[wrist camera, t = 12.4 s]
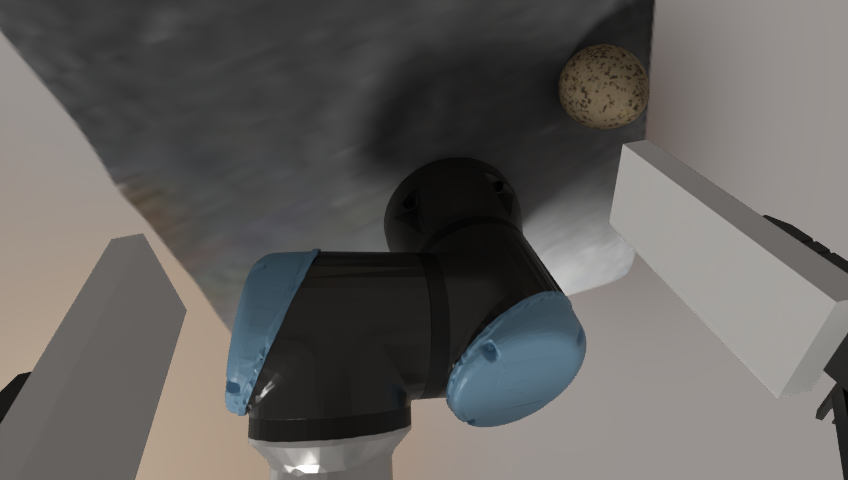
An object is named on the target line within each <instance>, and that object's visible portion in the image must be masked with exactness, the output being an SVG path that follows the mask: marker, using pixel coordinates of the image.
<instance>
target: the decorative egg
mask: <svg viewBox="0 0 848 480" xmlns="http://www.w3.org/2000/svg"><path fill="white" fill-rule="evenodd" d="M558 93H559V98H560V102H561V104H562V106H563V108H564V110H565V111H566V113H567V114H568V115H569V116H570V117H571V118H572V119H573V120H575V121H576V122H578V123H580V124H581V125H584V126H586V127H589V128H593V129H601V130H607V129H614V128H618V127H621V126H624V125H627V124H629V123H630V122H632V121H634V120H635V119H636V118H637V117H638V116H639V115H640V114H641V113H642V112H643V111H644V109H645V107H646V105H647V102H648V98H649V80H648V76H647V73H646V71H645V69H644V67H643V65H642V64H641V62H640V61H639V60H638V59H637V58H636V57H635V56H634V55H633V54H632V53H631V52H629V51H628V50H626V49H624V48H622V47H619V46H616V45H610V44H600V45H594V46H590V47H587V48H585V49H583V50H581V51H579V52H578V53H576V54H575V55H574V56H573V57H572V58H571V59H570V60H569V61H568V62H567V63H566V65H565V67H564V68H563V70H562V72H561V75H560V79H559V85H558Z"/></svg>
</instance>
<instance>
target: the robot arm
mask: <svg viewBox="0 0 848 480" xmlns="http://www.w3.org/2000/svg"><path fill="white" fill-rule="evenodd" d="M609 224H610V225H611V226H612V227H613V228H614V229H615V230H616V231H617V232H618V233H619V234H620V235H621V236H622V237H623V239H624V240H625V241H626V242H627V243H628V244H629V245H630V246H631V247H632V248H633V249H634V250H635V251H636V252H637V253H638V254H639V255H640V256H641V257H642V258H643V259H644V260H645V261H646V262H647V263H648V265H649V266H651V268H652V269H653V270H654V271H655V272H656V273H657V274H658V275H659V276H660V277H661V278H662V279H663V280H664V281H665V282H666V283H667V284H668V285H669V286H670V287H671V288H672V289H673V290H674V291H675V293H676V294H677V295H678V296H679V297H680V298H681V299H682V300H683V301H684V302H685V303H686V304H687V305H688V306H689V307H690V308H691V309H692V310H693V311H694V312H695V313H696V314H697V315H698V316H699V318H700V319H701V320H702V321H703V322H704V323H705V324H706V325H707V326H708V327H709V328H710V329H711V330H712V331H713V332H714V333H715V334H716V335H717V336H718V337H719V338H720V339H721V340H722V341H723V343H724V344H725V345H726V346H727V347H728V348H729V349H730V350H731V351H732V352H733V353H734V354H735V355H736V356H737V357H738V358H739V359H740V360H741V361H742V362H743V363H744V364H745V365H746V366H747V367H748V368H749V370H750V371H751V372H752V373H753V374H754V375H755V376H756V377H757V378H758V379H759V380H760V381H761V382H762V383H763V384H764V385H765V386H766V387H767V388H768V389H769V390H770V391H771V392H772V393H773V394H774V395H775V397H776V398H777V399H779V398H783V397H787V396H791V395H794V394H798V393H802V392H806V391H810V390H811V389H812V388H813V386H814V385H815V383H816V382H817V380H818V379H819V377H820V376H821V374H822V373H823V371H825V372H826V373H827V374H828V375H829V376H830V377H831V378H833V379H834V380H835V381H836V382H837V383H836V384H835V386H834V387H833V389H832V390H831V391H830V393H829V394H828V396H827V397H826V399H825V400H824V401H823V403H822V404H821V405H820V407H819V408H818V410H817V413H816V418H817V419H820V420H823V419H824V417H825V416H826V415H827V413H828V412H829V410H830V409H832V408H833V411H834V417H835V419H834V420H833V421H832V423H833V424H836V431H837V437H838V444H839V450H840V457H841V463H842V470H843V477H844V480H848V261H846V260H845V259H843V258H842V257H840V256H839V255H837V254H836V253H831V252H830V249H828V248H826V247H825V246H823V245H822V244H820V243H819V242H817V241H816V242H814V241H813V239H812V238H811V237H810V236H808V235H806V234H805V233H803V232H802V231H800V230H799V229H797V228H796V227H794V226H793V225H790V224H788V223H785V222H783V221H780V220H778V219H775V218H773V217H770V216H767V215H764V216H761V215H760V214H758V213H756V212H755V211H753V210H752V209H751V208H749V207H747V206H746V205H745V204H743V203H742V202H740V201H739V200H737V199H736V198H734V197H733V196H731V195H730V194H728V193H727V192H725V191H724V190H722V189H721V188H719V187H718V186H716V185H715V184H713V183H712V182H711V181H709V180H708V179H706V178H705V177H703V176H702V175H700V174H698V173H697V172H696V171H694V170H693V169H691V168H690V167H688V166H687V165H685V164H684V163H682V162H681V161H679V160H678V159H676V158H675V157H673V156H672V155H670V154H669V153H667V152H666V151H664V150H663V149H661V148H660V147H658V146H657V145H656V144H654V143H653V142H651V141H649V140H648V139H647V140H642V141H636V142H631V143H626V144H623V147H622V152H621V158H620V164H619V169H618V175H617V181H616V186H615V192H614V198H613V204H612V209H611V215H610V221H609ZM384 230H385V235H386V240H387V244H388V247H389V250H390V252H329V251H321V249H313V250H312V251H308V252H284V253H272V254H268V255H266V256H264V257H262V258H261V259H260V260H258V261H257V262H256V264H255V265H254V266H253V267H252V269H251V270H250V272H249V274H248V277H247V279H246V282H245V284H244V287H243V291H242V294H241V297H240V301H239V305H238V309H237V313H236V317H235V322H234V327H233V332H232V337H231V343H230V349H229V355H228V363H227V373H226V375H227V385H226V391H225V402H226V407H227V409H228V410H229V411H230V412H232V413H236V414H238V415H239V416H244V415H246V414H247V412H248V414H249V432H248V442H249V443H250V444H251V445H252V446H253V447H254V448H255V449H256V450H257V451H258V452H259V453H260V454H261V455H262V456H263V457H264V458H265V459H266V460H267V461H268V463H269V465H270V480H393V475H392V454H393V451H394V449H395V447H397V445H398V444H399V443H400V442H401V441H402V439H403V438H404V437H405V436H406V435H407V433H408V432H409V431H410V430H411V406H410V405H411V400H415V399H429V398H447V399H446V401H447V405H448V406H449V408H450V409H451V411H453V412H454V414H455V416H456V417H457V418H458V419H459V420H461V421H463V422H467V423H468V424H469V425H472V426H476V427H494V426H500V425H504V424H508V423H511V422H514V421H517V420H520V419H522V418H524V417H526V416H528V415H531V414H532V413H534V412H536V411H538V410H539V409H541V408H543V407H544V406H545V405H546V404H548V403H549V402H550V401H552V400H553V399H555V398H556V397H557V396H558V395H559V394H561V393H562V392H563V391H564V390H565V389H566V388H567V387H568V385H569V384H570V383H571V382H572V381H573V379H574V378H575V376H576V375H577V373H578V371H579V369H580V368H581V366H582V363H583V360H584V357H585V353H586V336H585V333H584V330H583V328H582V326H581V324H580V322H579V320H578V318H577V317H576V315H575V313H574V311H573V309H572V305H571V302H570V301H569V299H568V298H567V296H565V294H564V293H563V291H562V290H561V288H560V287H559V286H558V284H557V283H556V281H555V280H554V278H553V277H552V276H551V274H550V273H549V271H548V270H547V268H546V267H545V266H544V264H543V263H542V261H541V260H540V258H539V257H538V256H537V254H536V253H535V251H534V250H533V248H532V247H531V245H530V244H529V243H528V241H527V240H526V238H525V237H524V235H523V230H522V220H521V211H520V205H519V201H518V199H517V196H516V194H515V192H514V190H513V189H512V187H511V186H510V184H509V183H508V182H507V180H506V179H505V178H504V176H503V175H502V174H501V173H500V172H499V171H498V170H496V169H495V168H494V167H492V166H490V165H488V164H486V163H484V162H481V161H478V160H474V159H469V158H450V159H444V160H440V161H437V162H434V163H431V164H428V165H426V166H424V167H422V168H420V169H419V170H417V171H415V172H414V173H413V174H411V175H410V176H409V177H407V178H406V179H405V180H404V181H403V182H402V183H401V184H400V185H399V187H398V188H397V189H396V191H395V192H394V193H393V195H392V197H391V199H390V201H389V203H388V205H387V208H386V212H385V218H384ZM186 311H187V310H186V308H185V306H184V305H183V303H182V301H181V299H180V297H179V296H178V294H177V292H176V290H175V289H174V287H173V285H172V283H171V282H170V280H169V278H168V276H167V275H166V273H165V271H164V269H163V268H162V266H161V264H160V263H159V261H158V259H157V257H156V255H155V254H154V252H153V250H152V248H151V247H150V245H149V243H148V241H147V239H146V238H145V236H144V234H137V235H132V236H126V237H121V238H116V239H111V241H110V243H109V244H108V246H107V248H106V249H105V251H104V253H103V254H102V256H101V258H100V259H99V261H98V263H97V264H96V266H95V268H94V269H93V271H92V273H91V274H90V276H89V278H88V279H87V281H86V283H85V284H84V286H83V288H82V290H81V291H80V293H79V294H78V296H77V298H76V299H75V301H74V303H73V304H72V306H71V308H70V309H69V311H68V312H67V314H66V316H65V317H64V319H63V321H62V322H61V324H60V326H59V328H58V329H57V331H56V332H55V334H54V336H53V337H52V339H51V341H50V342H49V344H48V346H47V347H46V349H45V351H44V352H43V354H42V356H41V357H40V359H39V361H38V362H37V364H36V366H35V367H34V369H33V371H32V372H28V373H23V374H19V375H17V376H16V377H15V378H14V379H13V380H12V381H11V382H10V383H9V384H8V385H7V386H6V387H5V388H4V389H3V390H2V391H1V392H0V480H135V478H136V474H137V471H138V468H139V464H140V461H141V458H142V455H143V451H144V448H145V445H146V442H147V438H148V435H149V432H150V428H151V425H152V422H153V419H154V415H155V412H156V409H157V406H158V402H159V399H160V396H161V392H162V389H163V386H164V383H165V379H166V376H167V373H168V369H169V366H170V363H171V360H172V356H173V353H174V350H175V347H176V343H177V340H178V337H179V334H180V330H181V327H182V324H183V321H184V317H185V314H186Z"/></svg>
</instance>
